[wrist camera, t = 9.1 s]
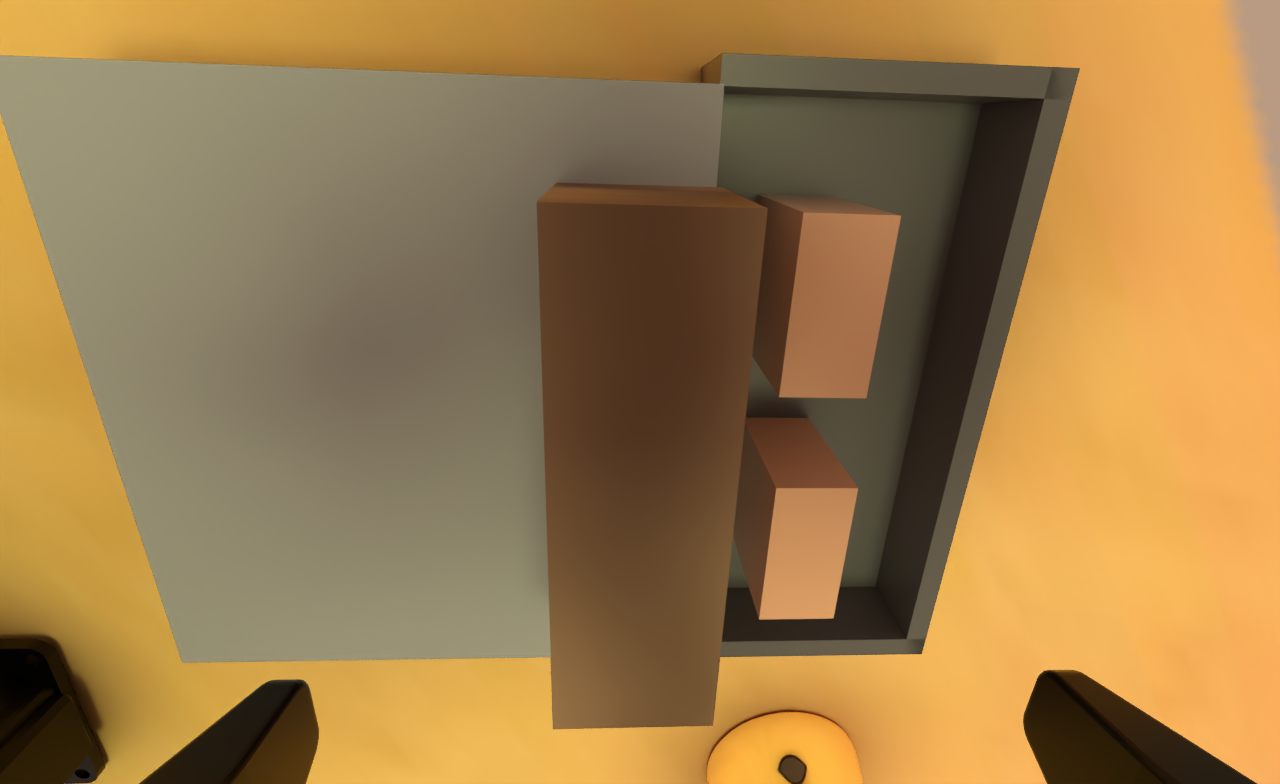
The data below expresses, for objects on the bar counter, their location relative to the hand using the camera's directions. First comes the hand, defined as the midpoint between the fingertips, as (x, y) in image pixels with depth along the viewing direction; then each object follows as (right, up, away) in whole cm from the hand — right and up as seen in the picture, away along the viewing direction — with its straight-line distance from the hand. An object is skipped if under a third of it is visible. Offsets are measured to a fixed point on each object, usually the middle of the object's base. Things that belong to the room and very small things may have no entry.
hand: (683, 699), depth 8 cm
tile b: (+3, +6, +7) cm, 10 cm away
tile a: (+3, 0, +10) cm, 10 cm away
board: (-6, +4, +10) cm, 13 cm away
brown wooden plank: (-1, +3, +8) cm, 8 cm away
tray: (+4, +4, +11) cm, 13 cm away
